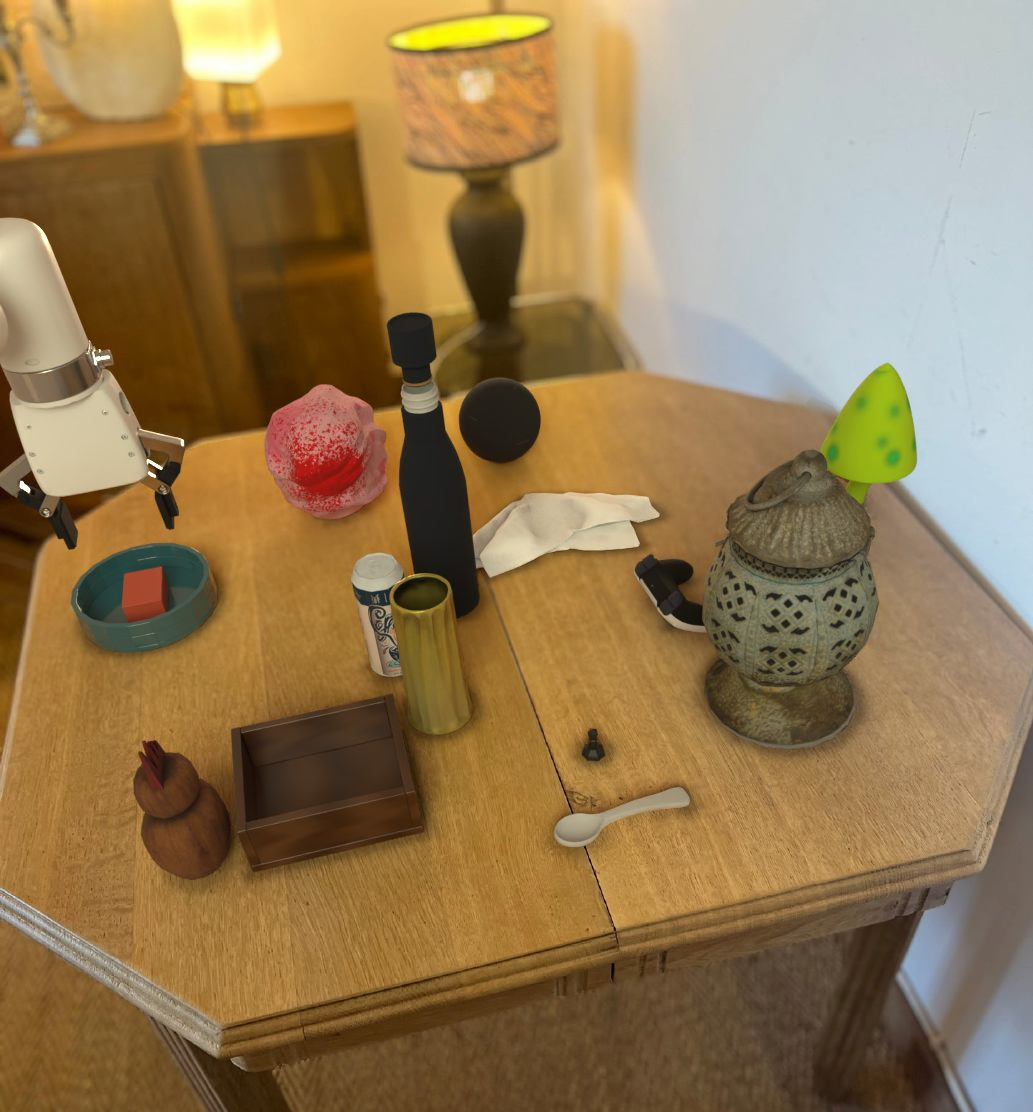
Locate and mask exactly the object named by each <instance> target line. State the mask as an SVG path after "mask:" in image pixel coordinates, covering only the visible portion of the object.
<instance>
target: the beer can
mask: <svg viewBox="0 0 1033 1112" xmlns="http://www.w3.org/2000/svg"><path fill="white" fill-rule="evenodd" d="M404 578H406V577H405V570H404V568H403V565H402V564H401V563H400V562H399V561H397V560H396V558H395V556H393V554H389V553H384V552H375V553H369V554H366V555H364V556H362V557H361V558H359V559H357V560H356V562H355V564H354V567H353V570H352V573H351V575H350V580H351V586H352V590H353V594H354V599H355V604H356V607H357V612H358V616H359V620H360V624H361V625H360V626H361V630H362V633H363V637H364V642H365V647H366V651H367V656H368V659H369V663H370V667H371V669H372V670H373V671H374V673H376V674H378V675H380V676H383V677H389V678H394V677H398V676H399V677H400V676H402V670H401V664H400V658H399V651H398V645H397V639H396V633H395V627H394V622H393V617H392V612H391V606H390V592H391V590H392V588H393V586H394V585H395V584H396V583H398V582H399V581H400V580H402V579H404Z"/></svg>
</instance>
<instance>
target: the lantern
mask: <svg viewBox="0 0 1033 1112" xmlns="http://www.w3.org/2000/svg"><path fill="white" fill-rule="evenodd" d="M725 513H726V521H725V524H724V526H725V529H726V530H728V531H729V532H728V533H727V535H726V536H725V538H724V539H722V540H719V541H717V542H715V543H714V547H715V548H718V547H719V546H721V547H720V549H719V551H718V553H717V555H716V556H715V558H714V560H713V562H712V563H711V565H710V567H709V569H708V571H707V573H705V576H704V579H703V595H702V596H703V597H702V605H703V616H702V620H703V623H704V625H705V628H706V631H707V633H706V634H707V636H708V639H709V641H710V643H711V645H712V647H713V649H714V651H715V652H716V655H717V656H718V658H719V659H718V660H716V661H715V662H714V664H713V665H712V666H711V667H710V668H709V670H708V671H707V672H706V674H705V681H704V682H705V683H704V697H705V700H706V704H707V707H708V710H709V712H710V713H711V714H712V716H713V717H714V718H715V719H716V720H717V722H718V723H719V724H720V726H722V728H725V729H726V730H727V731H729V732H730V733H731V734H733V735H735V736H737V737H738V738H740V739H741V740H744V741H747V742H749V743H753V744H756V745H757V746H761V747H764V748H774V749H781V750H795V749H797V750H798V749H805V748H806V749H807V748H814V747H816V746H818V745H821V744H823V743H826V742H828V741H831V740H833V739H835V738H836V737H837V736H838V735H839V734H840V733H842V732H843V731H845V730H846V729H847V728H848V726H849V724H850V722H851V720H852V718H853V716H854V714H855V713H856V708H857V706H856V705H857V703H856V701H857V700H856V690H855V688H854V686H853V683H852V682H851V680H850V677H849V675H847V673H846V672H845V671H844V670H843V669H844V668H845V667H846V666H848V665H849V664H851V662H852V661H853V660H854V659H855V658H856V656H857V655H859V653H860V652H861V651H862V650H863V649H864V647H865V646H866V645H867V643H868V640H869V637H870V635H871V633H872V630H873V628H874V626H875V621H876V617H877V612H878V609H879V604H880V600H879V596H878V591H877V585H876V580H875V576H874V573H873V569H872V565H871V562H870V560H869V558H868V556H869V552H870V549H871V545H872V541H873V540H874V539H875V537H876V530H875V528H874V527H873V526H872V523H871V517H870V516H869V514H868V512H867V511H866V508H865V507H864V506H863V504H862V505H861V504H860V503H859V502H858V501H857V500H856V499H855V498H854V497H852V496H851V495H850V494H849V493H848V492H847V490H846V489H845V487H844V486H843V485H842V483H841V482H840V481H839V480H838V478H837V477H835V476H834V475H833V474H832V473H831V472H829V471H827V460H826V458H825V457H824V455H823V454H822V453H821V452H820V450H819V451H818V450H816V449H806V450H802V451H801V452H799V453H798V454H797V455H796V456H795V457H794V459H791V460H787V461H785V462H783V463H781V464H780V465H778V466H776V467H775V468H773V469H772V470H770V471H768V473H766V474H765V475H764V476H763V477H761V478H760V479H759V480H758V481H757V482H756V483H754V484H753V486H751V488H750V489H749V490H748V491H746V492H745V493H743V494H741V495H739V496H737V497H736V498H735V500H734V501H733V502H732V503H730V504H729V506H728V508H727V509H726V512H725Z"/></svg>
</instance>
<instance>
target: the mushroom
mask: <svg viewBox="0 0 1033 1112" xmlns="http://www.w3.org/2000/svg"><path fill="white" fill-rule="evenodd" d="M913 417H914V416H913V412H912V407H911V404H910V400H909V396H908V393H907V390H906V388H905V385H904V382H903V380H902V378H901V376H900V374H899V373H898V371H897V369H896V368H895V367H894V366H893V365H892V364H891V363H889V362H885V363H883V364H881V365H879V366H878V367H876V368H875V369H874V370H872V372H870V373H869V374H868V375H867V376H866V378H864V379H863V380H862V382H861V383H860V384H859V385H858V386H857V387H856V389H855V390H854V391H853V392H852V394H851V396H850V397H849V398H848V399H847V401H846V402H845V404H844V405H843V406H842V408H841V410H840V411H839V413H838V415H837V416H836V418H835V420H834V421H833V424H832V426H830V429H829V431H828V433H826V436H825V438H824V440H823V441H822V444H821V447H820V449H819V452H821V453H822V454H823V455H824V457H825V458H826V460H827V469H828V470H829V471H830V472H832V473H833V474H835V475H837V476H839V477H842V478H845V479H848V480H849V483H848V485H847V487H846V490H847V492H848V493H849V494H850V495H851V496H852V497H854V498H855V499H856V500H857V501H858V502H859V503H860V504H861V505H862V506H863V503H864V500H865V499H866V496H867V493H868V491H869V490H870V488H871V485H872V484H887V483H893V482H898V481H899V480H900V481H901V480H902V479H904V478H907V477H908V476H910V475H911V474H912V473H913V472H914V470H916V467H917V464H918V447H917V437H916V431H915V424H914V418H913Z"/></svg>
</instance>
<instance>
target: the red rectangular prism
mask: <svg viewBox="0 0 1033 1112" xmlns="http://www.w3.org/2000/svg"><path fill="white" fill-rule="evenodd" d="M168 591H169V583H168V581H167V578H166V576H165V573H164V571H163V568H162V567H157V568H152V569H146V570H141V571H136V572H131V573H126V574H124V584H123V597H122V609H123V611H124V614H125V616H126V618H127V620H128V623H131V622H136V621H141V620H146V619H150V618H153V617H155V616H158V615H160V614H163V613H165V612H168Z"/></svg>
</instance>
